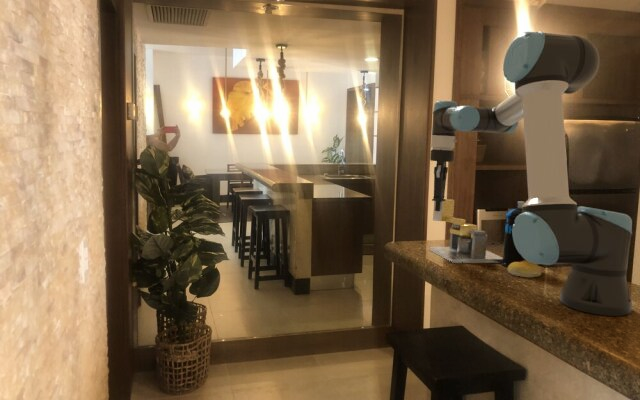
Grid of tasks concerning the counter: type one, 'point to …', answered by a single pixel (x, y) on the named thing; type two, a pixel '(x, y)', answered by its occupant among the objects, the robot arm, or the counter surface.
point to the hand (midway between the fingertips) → (437, 220)
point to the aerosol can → (511, 238)
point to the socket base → (464, 257)
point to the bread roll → (524, 269)
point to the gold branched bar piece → (456, 220)
